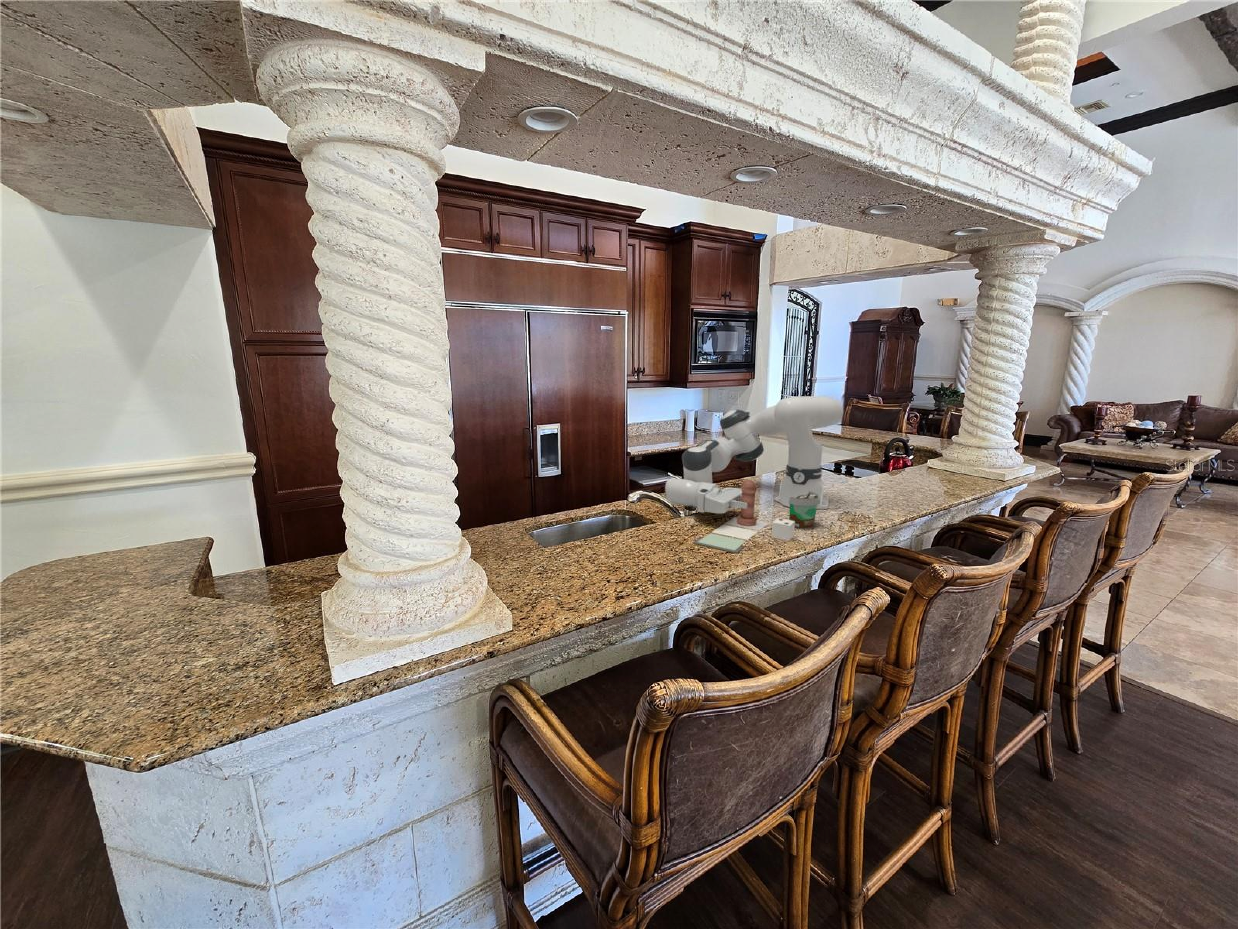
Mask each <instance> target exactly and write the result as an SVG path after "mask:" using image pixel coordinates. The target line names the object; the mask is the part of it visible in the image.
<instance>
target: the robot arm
mask: <svg viewBox="0 0 1238 929" xmlns="http://www.w3.org/2000/svg"><path fill="white" fill-rule="evenodd" d="M750 414H751V413H750V411H744V410H742V409H733V410H729V411H728V412H726V413H725V414H724V415H723V416H722V417H721V418H720V420H719V424H720V427H721V430H723V433H724V434H725V437H724V436H719V437H716V438H714V439H707V440H703V441H701V442H700V443H698V444H696V445H695V446H692V447H689V448H687V449H686V450H685V451H684V452H683V453H682V455H681V460H682V465H683V466H682V467H683V478H669V479H667V480H666V482H665V485H664V496H665V499H666V500H667V501H668V502H670V503H672V504H676V505H680V506H683V507H694V508H697V512H699V513H705V512H707V513H712V514H713V513H714V514H725V513H727V512H728V511H730V510H732V509H741V508H745V509H746V508H747V507H748V504H749V503H748V502H744V501H743V502H741V500H742V490H741V488H737V487H736V488H735V487H723V488H719V485H718V484H717V483H713V474H712V473H719V472H721V471H723V470H725V469H726V468H727V466H728V465H729V464H730V462H731V460H732V458H733V457H734V460H736V461H741V462H747V463H749V462H752V461H755V460H757V459H758V458H759V457H760V456H762V454H763V452H764V445H763V442H761V439H760V438H759V435H760V436H767V437H768V436H777V435H781V434H785V435H786V437H787V442H788V453H787V454H788V458H787V459H788V460H787V464H786V467H785V476H784V477H783V478H781V480H780V485H779V486H780V487H779V493H778V496H775V497H774V501H775V502H778V503H779V504H780V505H783V506H785V507H788V508H790V504H789V499H790V497H793V498H797V497H798V496H801V495H807V494H808V492H809V491H810V492H814V493H816V494H818V495H819V498H820V503H819V504H818V505H817V510H818V509H820V510H821V509H822V510H824V509H825V510H826V509H827V510H828V509H829V501H830V500H829V496H827V495H826V493H824V485H825V484H824V482H823V480H822V474H823V471H822V454H823V446H822V444H821V442H820V441H818V440H817V439H815V437H814V434H813V430H815V429H823V428H826V427H827V428H828V427H831V426H834V425H837V424H839V423H840V421H841V420H842V418H843V415H844V407H843V405H842V402H841V401H840V400H839V399H837V398H834V397H831V396H825V395H820V396H819V395H818V396H817V395H815V396H811V395H810V396H807V395H806V396H800V395H799V396H798V395H797V396H789V397H785V398H783V399H780V400H779V401H778V402H777V403H776V404H775V405H773V406H770V407H766V408H764V409H762V410H760V411H758V412H757V413H756V414H754V415H750Z"/></svg>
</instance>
